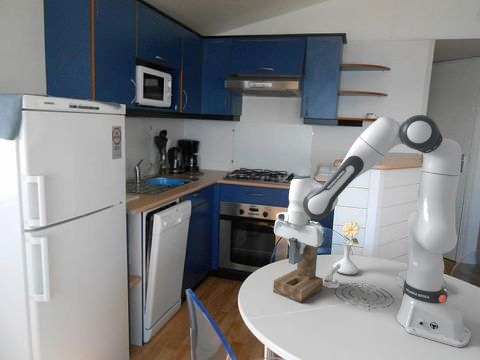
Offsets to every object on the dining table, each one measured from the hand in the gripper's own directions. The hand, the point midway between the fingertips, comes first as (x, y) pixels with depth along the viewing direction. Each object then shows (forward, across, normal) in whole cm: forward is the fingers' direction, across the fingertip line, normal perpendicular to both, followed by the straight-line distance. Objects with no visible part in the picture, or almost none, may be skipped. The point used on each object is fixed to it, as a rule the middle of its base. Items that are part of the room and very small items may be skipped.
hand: (296, 251), depth 144 cm
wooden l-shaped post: (+17, 0, -3) cm, 18 cm away
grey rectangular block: (+4, 0, 0) cm, 4 cm away
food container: (+17, -34, -47) cm, 61 cm away
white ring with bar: (+18, -6, -19) cm, 27 cm away
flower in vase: (+17, -5, -36) cm, 40 cm away
